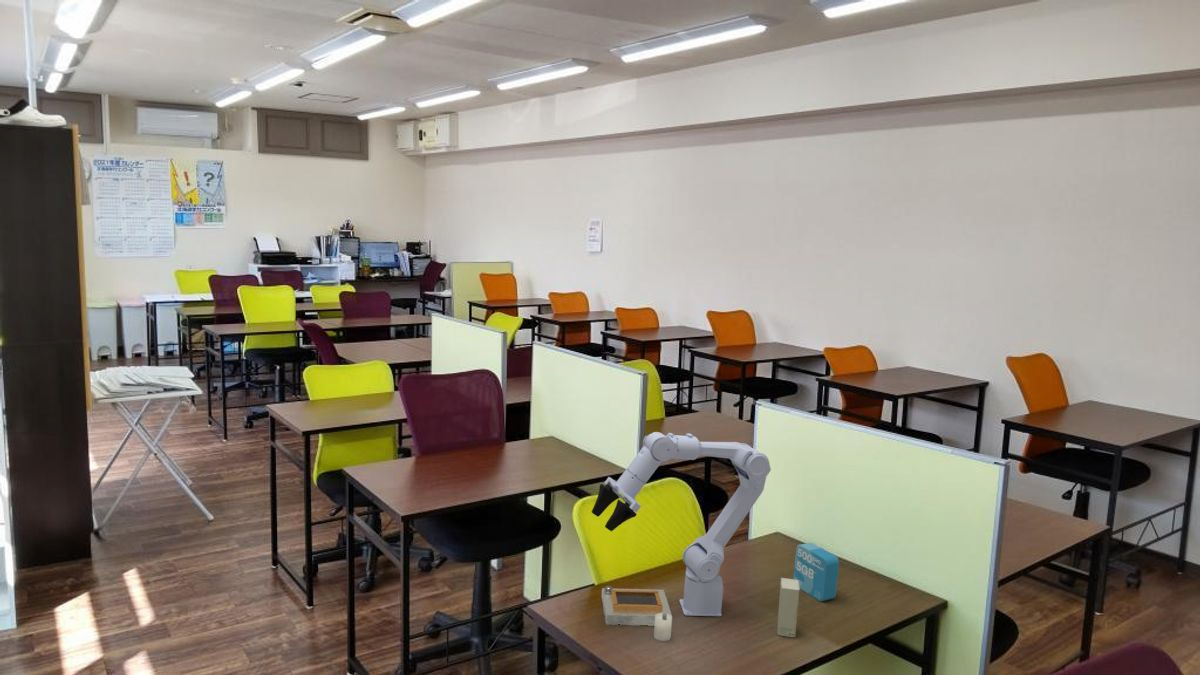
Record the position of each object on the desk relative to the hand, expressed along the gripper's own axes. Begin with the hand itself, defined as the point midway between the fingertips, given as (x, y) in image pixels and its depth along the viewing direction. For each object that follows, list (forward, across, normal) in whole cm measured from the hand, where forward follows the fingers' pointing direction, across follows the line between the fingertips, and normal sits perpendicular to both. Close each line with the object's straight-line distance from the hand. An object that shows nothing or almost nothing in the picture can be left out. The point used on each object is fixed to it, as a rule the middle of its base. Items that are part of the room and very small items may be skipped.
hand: (601, 521), depth 193 cm
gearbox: (+14, +2, +24) cm, 27 cm away
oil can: (+12, +15, +23) cm, 30 cm away
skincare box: (-6, +23, +47) cm, 53 cm away
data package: (-17, +9, +65) cm, 68 cm away
